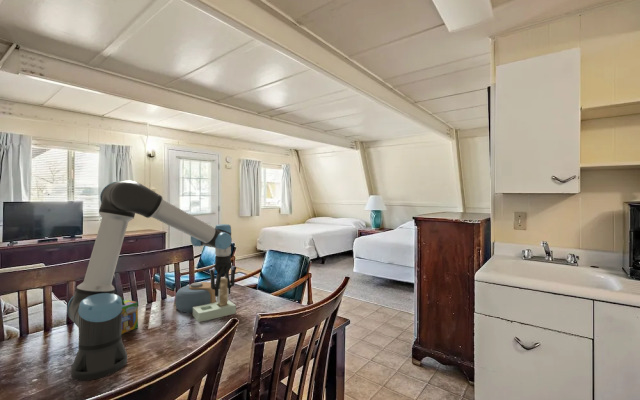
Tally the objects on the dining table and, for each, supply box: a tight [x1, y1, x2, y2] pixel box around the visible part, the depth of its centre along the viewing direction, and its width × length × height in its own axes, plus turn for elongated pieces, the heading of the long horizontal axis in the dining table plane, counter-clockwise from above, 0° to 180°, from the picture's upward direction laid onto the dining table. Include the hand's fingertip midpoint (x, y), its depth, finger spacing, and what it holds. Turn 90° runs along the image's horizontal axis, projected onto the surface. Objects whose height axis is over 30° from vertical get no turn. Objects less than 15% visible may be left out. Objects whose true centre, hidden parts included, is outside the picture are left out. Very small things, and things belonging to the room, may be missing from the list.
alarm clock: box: [175, 281, 217, 313], centre depth 158 cm, size 19×20×12 cm
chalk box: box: [120, 296, 139, 335], centre depth 129 cm, size 9×9×15 cm
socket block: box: [192, 299, 237, 323], centre depth 147 cm, size 18×10×4 cm, turn 128°
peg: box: [218, 276, 227, 307], centre depth 150 cm, size 3×3×16 cm
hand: (222, 301), depth 150 cm, fingers open, 4 cm apart
